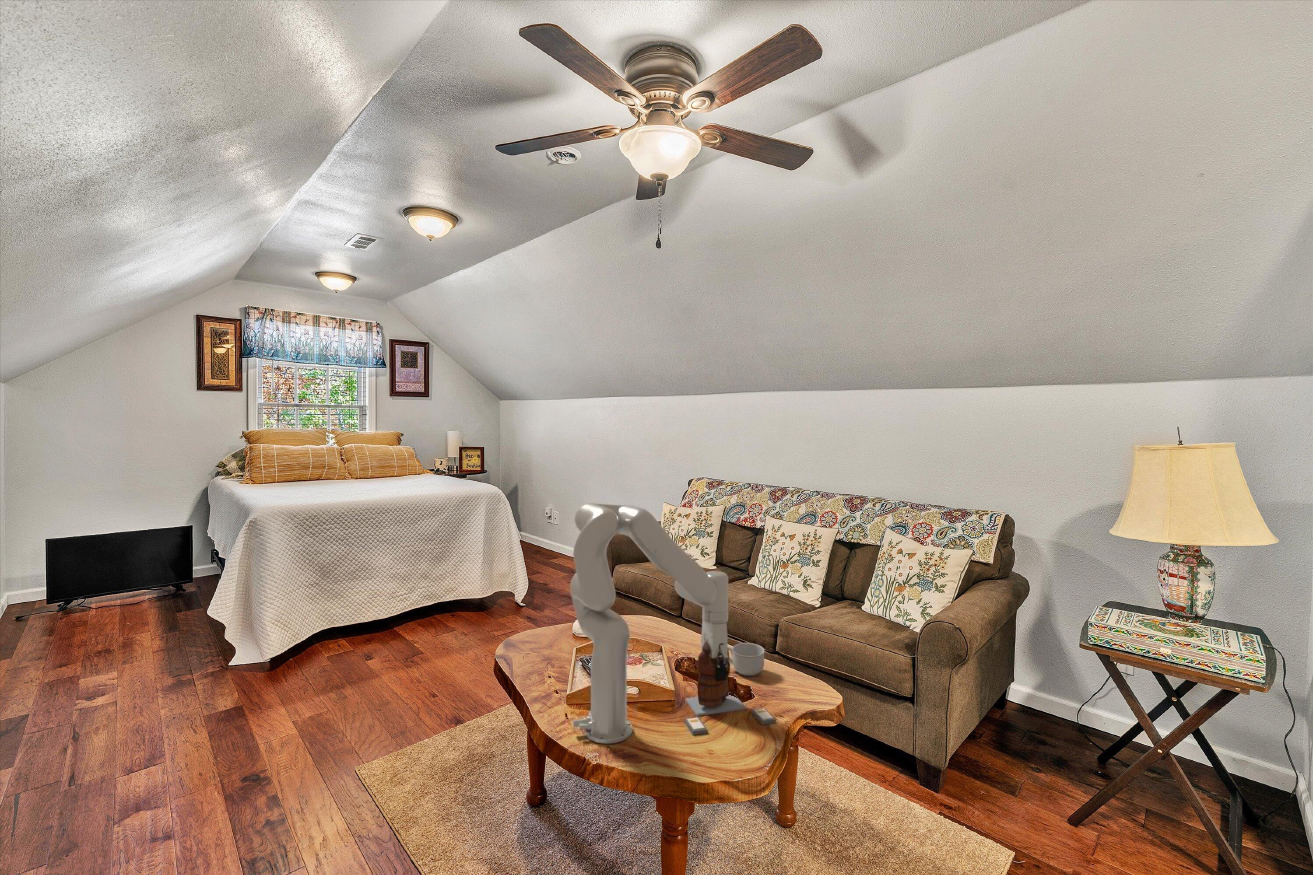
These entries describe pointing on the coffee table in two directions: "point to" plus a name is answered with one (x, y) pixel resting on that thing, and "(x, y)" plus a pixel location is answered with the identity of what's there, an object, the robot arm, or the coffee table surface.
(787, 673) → the coffee table surface
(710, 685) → the wooden figurine
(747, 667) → the teacup
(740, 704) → the mat
